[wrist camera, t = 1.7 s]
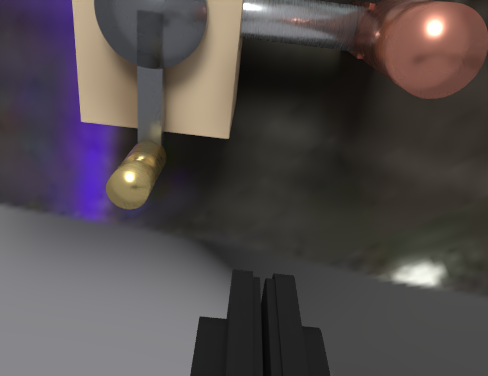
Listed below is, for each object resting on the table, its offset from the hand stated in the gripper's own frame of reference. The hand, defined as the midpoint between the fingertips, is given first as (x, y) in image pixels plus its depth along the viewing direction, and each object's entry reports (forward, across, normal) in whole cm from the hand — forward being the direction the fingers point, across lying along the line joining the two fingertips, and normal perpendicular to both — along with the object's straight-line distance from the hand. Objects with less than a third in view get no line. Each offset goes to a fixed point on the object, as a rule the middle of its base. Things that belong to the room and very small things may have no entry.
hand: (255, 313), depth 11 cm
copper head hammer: (+20, +1, -7) cm, 21 cm away
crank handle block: (+12, +5, -4) cm, 14 cm away
